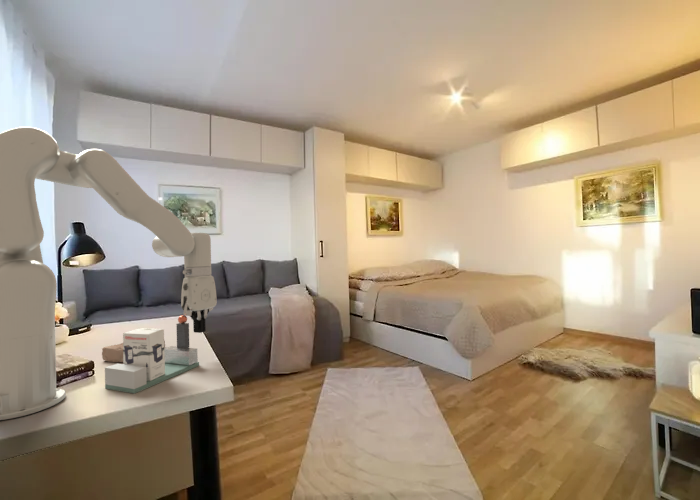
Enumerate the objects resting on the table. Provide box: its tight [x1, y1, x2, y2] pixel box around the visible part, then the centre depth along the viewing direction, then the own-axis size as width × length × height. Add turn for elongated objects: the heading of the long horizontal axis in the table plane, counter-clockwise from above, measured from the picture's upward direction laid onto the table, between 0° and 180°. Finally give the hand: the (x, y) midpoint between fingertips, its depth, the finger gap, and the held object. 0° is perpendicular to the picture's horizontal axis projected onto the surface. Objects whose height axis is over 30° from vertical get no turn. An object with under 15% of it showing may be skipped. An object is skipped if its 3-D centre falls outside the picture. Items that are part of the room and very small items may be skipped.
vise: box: [104, 361, 200, 394], centre depth 84 cm, size 19×10×5 cm, turn 160°
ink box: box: [122, 327, 165, 381], centre depth 81 cm, size 8×5×12 cm, turn 77°
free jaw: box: [164, 314, 199, 365], centre depth 92 cm, size 4×10×13 cm, turn 70°
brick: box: [101, 339, 166, 363], centre depth 104 cm, size 16×8×5 cm, turn 165°
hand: (199, 331), depth 98 cm, fingers closed
